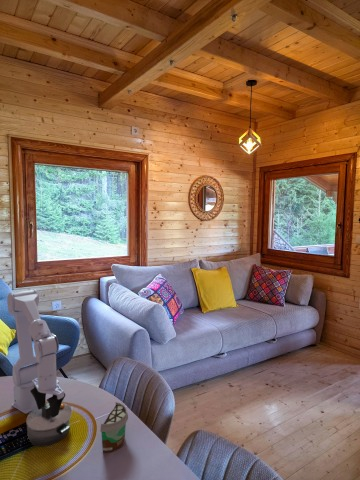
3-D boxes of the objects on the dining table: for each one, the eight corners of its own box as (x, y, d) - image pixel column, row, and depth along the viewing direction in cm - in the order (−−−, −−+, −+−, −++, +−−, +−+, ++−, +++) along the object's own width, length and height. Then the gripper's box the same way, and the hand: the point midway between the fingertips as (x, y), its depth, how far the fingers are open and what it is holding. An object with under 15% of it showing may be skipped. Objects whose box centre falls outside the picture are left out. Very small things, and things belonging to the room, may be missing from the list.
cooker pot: (14, 433, 106) (14, 418, 105) (49, 412, 117) (48, 399, 116) (48, 455, 96) (47, 440, 96) (82, 430, 107) (82, 417, 107)
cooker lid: (17, 421, 104) (17, 408, 104) (54, 400, 116) (54, 388, 116) (43, 437, 97) (43, 424, 96) (80, 413, 109) (80, 401, 108)
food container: (119, 459, 95) (119, 428, 94) (100, 456, 96) (100, 425, 96) (133, 431, 107) (133, 403, 106) (116, 428, 108) (116, 401, 108)
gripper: (71, 373, 104) (72, 412, 105) (44, 362, 112) (45, 398, 113) (52, 383, 98) (53, 424, 99) (25, 370, 106) (26, 409, 107)
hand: (48, 411), depth 106 cm, fingers open, 7 cm apart
